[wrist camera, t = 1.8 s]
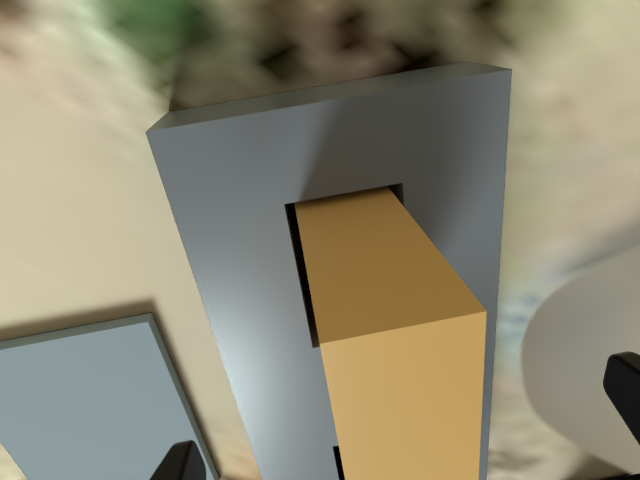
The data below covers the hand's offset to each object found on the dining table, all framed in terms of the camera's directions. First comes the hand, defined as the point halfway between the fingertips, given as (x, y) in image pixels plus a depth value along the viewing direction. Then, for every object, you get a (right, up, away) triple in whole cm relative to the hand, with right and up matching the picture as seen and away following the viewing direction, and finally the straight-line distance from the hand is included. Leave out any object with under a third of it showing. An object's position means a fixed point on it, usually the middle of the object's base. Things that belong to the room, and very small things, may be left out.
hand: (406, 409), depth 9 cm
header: (0, -1, +10) cm, 10 cm away
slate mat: (-12, -5, +10) cm, 16 cm away
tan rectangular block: (-1, +4, +8) cm, 9 cm away
